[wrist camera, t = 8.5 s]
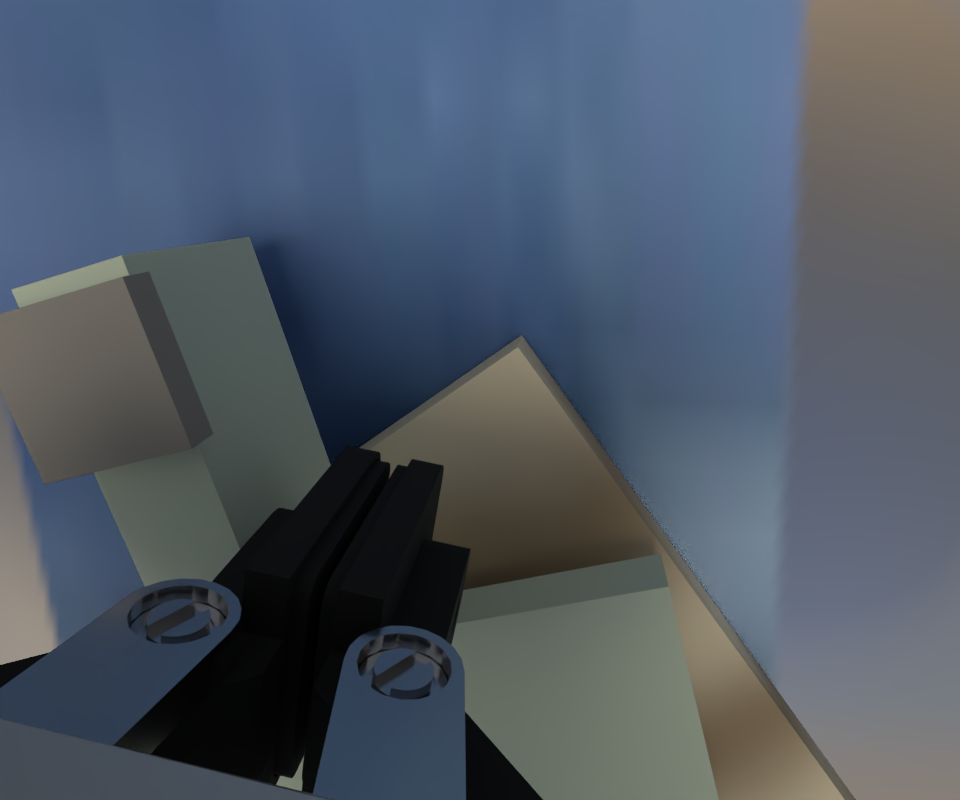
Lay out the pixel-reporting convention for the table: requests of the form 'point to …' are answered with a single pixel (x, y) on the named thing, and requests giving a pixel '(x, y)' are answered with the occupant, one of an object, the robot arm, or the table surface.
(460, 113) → the table surface
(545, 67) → the table surface
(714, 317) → the table surface
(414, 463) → the robot arm
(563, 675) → the green piece
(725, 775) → the stand
